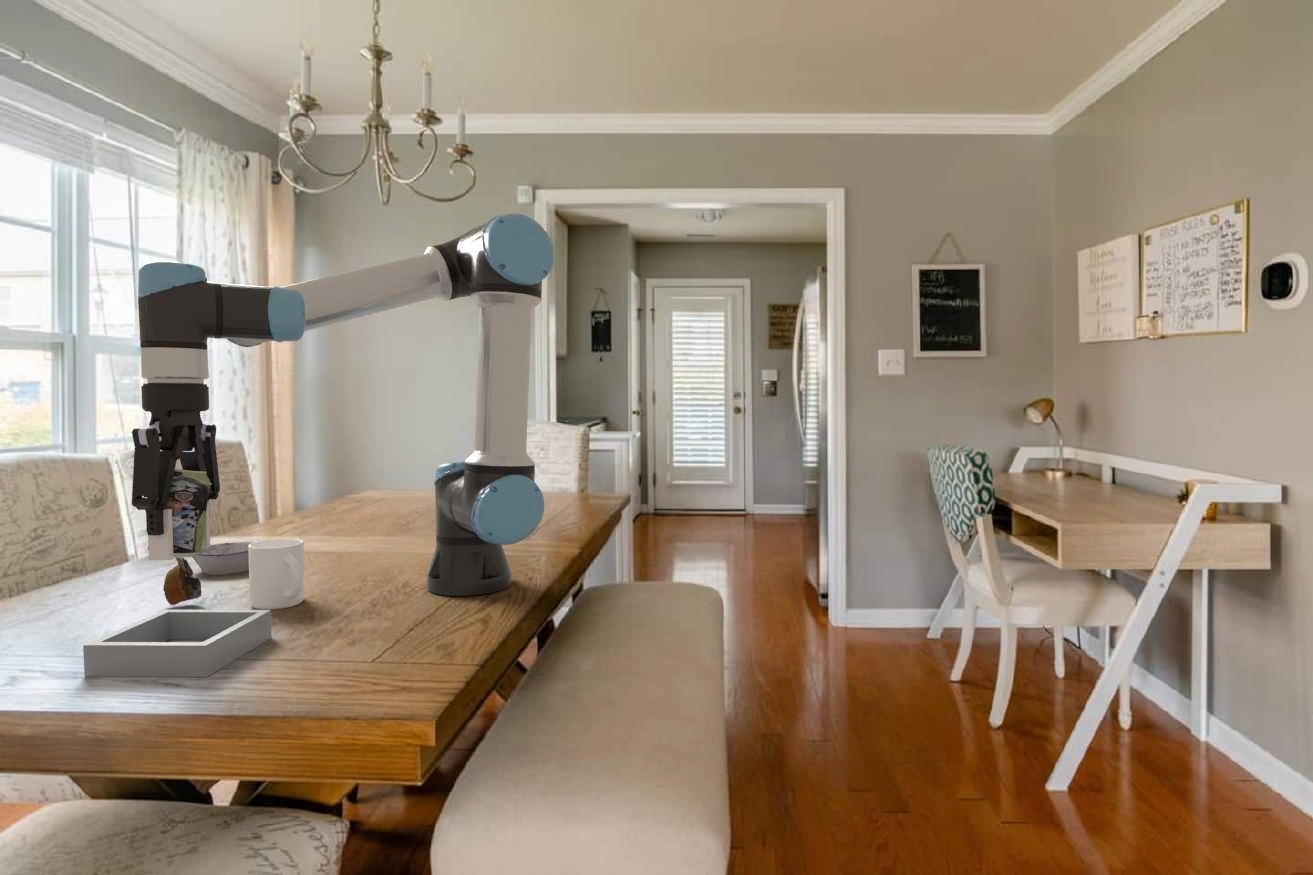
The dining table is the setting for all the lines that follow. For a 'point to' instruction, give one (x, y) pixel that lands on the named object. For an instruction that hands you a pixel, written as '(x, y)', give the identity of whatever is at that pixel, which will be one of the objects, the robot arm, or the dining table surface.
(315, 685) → the dining table surface
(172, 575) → the rock
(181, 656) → the corral
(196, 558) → the bowl
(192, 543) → the beverage can
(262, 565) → the mug
